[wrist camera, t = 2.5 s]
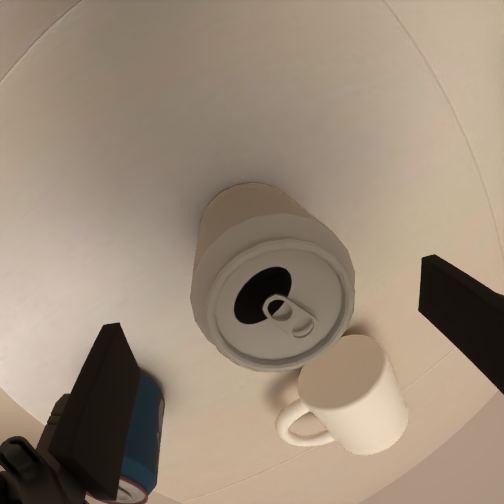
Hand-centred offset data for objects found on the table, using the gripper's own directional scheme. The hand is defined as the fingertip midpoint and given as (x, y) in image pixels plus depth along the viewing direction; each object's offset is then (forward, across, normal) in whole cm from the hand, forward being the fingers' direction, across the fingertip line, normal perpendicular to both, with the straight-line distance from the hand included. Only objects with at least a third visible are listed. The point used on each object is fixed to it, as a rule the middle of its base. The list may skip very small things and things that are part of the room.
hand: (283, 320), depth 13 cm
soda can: (+12, -14, -13) cm, 22 cm away
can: (+12, 0, 0) cm, 12 cm away
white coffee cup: (+12, +5, -17) cm, 21 cm away
